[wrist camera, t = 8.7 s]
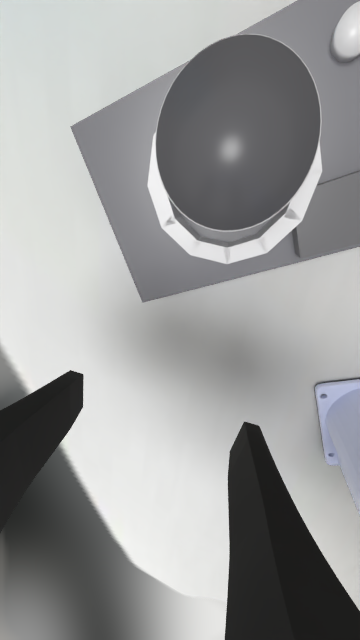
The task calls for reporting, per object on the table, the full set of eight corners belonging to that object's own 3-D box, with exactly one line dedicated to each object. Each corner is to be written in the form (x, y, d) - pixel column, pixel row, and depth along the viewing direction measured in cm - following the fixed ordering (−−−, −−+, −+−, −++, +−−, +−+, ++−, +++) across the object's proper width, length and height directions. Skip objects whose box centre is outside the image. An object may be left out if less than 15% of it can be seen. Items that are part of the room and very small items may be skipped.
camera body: (365, 230, 15) (414, 242, 11) (155, 287, 19) (134, 311, 15) (357, 5, 11) (428, -103, 7) (98, 138, 15) (51, 118, 11)
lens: (299, 130, 11) (362, 65, 6) (255, 231, 13) (271, 252, 8) (205, 97, 11) (181, 3, 6) (176, 202, 13) (139, 204, 8)
